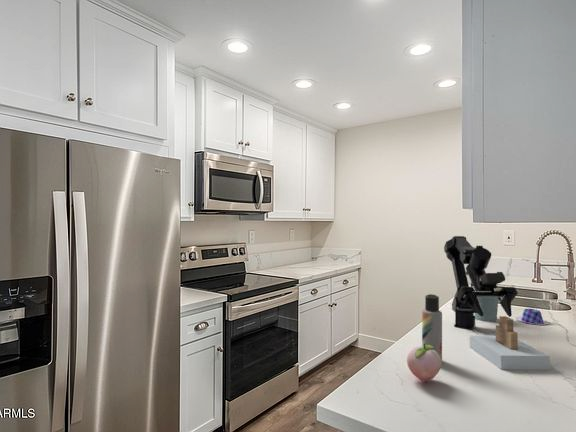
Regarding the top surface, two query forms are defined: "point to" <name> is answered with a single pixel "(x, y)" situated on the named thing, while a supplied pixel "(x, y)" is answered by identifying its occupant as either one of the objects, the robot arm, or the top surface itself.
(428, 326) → the lotion bottle
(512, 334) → the angular brown block
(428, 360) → the decorative fruit
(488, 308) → the teal canister
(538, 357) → the flat gray panel
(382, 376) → the top surface
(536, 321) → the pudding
